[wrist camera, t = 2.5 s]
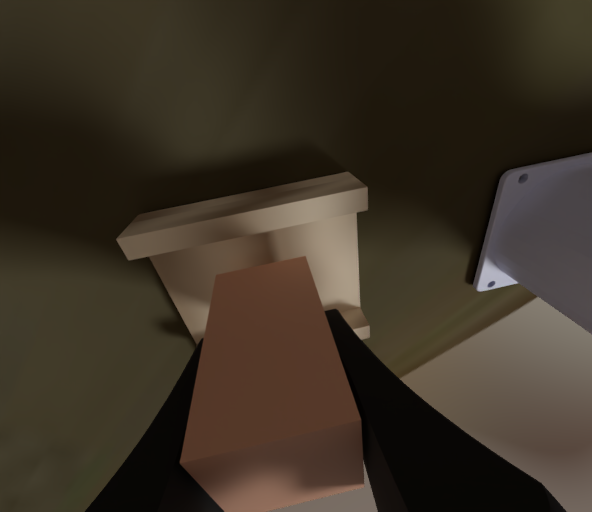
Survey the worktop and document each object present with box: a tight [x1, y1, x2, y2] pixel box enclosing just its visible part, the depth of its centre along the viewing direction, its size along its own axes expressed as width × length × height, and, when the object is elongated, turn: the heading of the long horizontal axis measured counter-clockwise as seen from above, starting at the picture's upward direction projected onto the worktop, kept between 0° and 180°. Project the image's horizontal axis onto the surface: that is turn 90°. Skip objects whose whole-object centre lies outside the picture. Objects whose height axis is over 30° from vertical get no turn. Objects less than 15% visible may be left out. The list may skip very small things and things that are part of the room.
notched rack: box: [116, 172, 370, 347], centre depth 18 cm, size 10×25×2 cm, turn 9°
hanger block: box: [180, 256, 364, 512], centre depth 10 cm, size 4×4×7 cm
